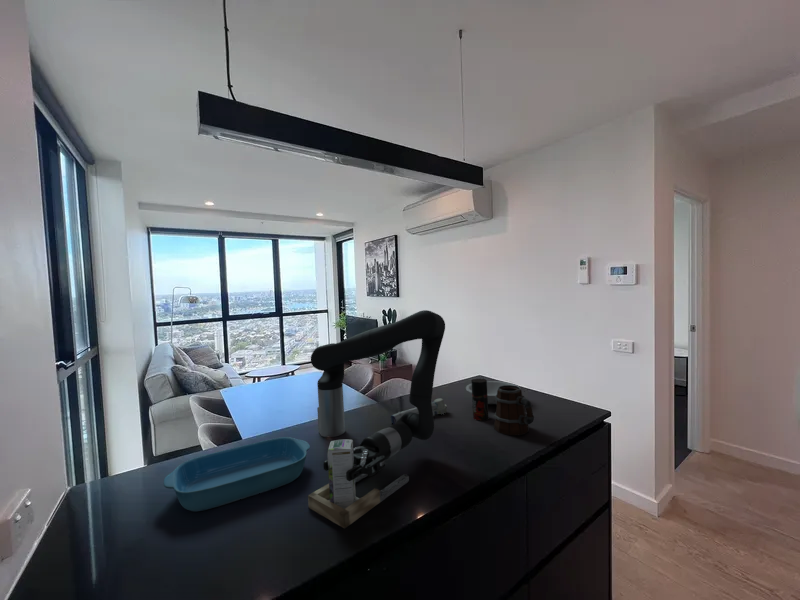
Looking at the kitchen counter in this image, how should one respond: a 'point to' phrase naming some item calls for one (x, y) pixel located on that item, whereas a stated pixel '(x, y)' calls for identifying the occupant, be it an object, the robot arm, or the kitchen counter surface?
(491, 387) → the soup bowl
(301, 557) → the kitchen counter surface
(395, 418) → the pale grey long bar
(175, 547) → the kitchen counter surface
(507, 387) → the mug
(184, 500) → the casserole dish
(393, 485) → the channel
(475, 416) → the deodorant
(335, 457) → the syrup box
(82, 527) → the kitchen counter surface
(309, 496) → the socket
